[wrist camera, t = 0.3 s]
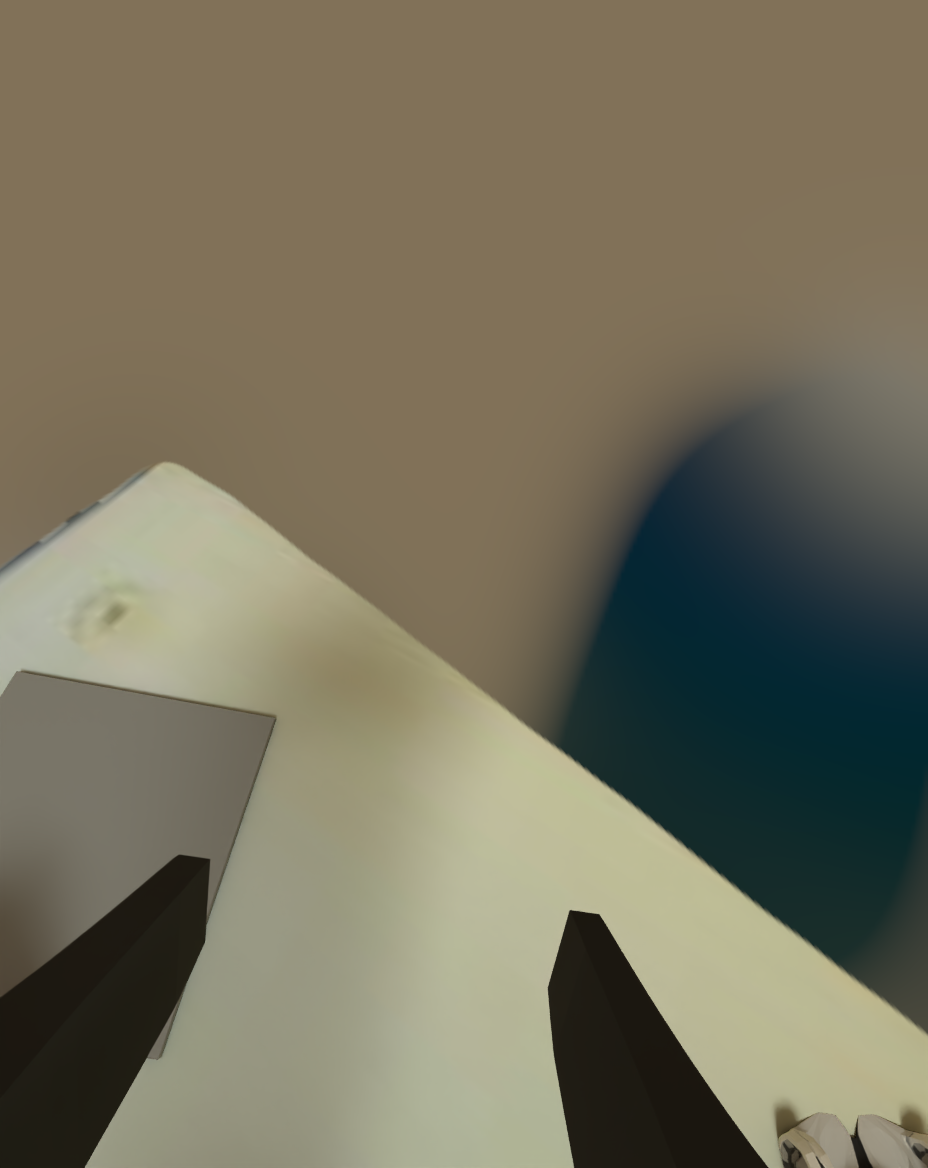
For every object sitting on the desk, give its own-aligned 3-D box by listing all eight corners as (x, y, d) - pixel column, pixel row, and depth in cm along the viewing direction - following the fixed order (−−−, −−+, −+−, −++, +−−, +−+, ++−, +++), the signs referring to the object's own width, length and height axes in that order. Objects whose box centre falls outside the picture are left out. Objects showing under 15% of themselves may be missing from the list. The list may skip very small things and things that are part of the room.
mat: (161, 1056, 29) (158, 1059, 28) (-186, 1002, 28) (-195, 1004, 27) (276, 719, 38) (274, 717, 38) (21, 673, 38) (16, 671, 37)
